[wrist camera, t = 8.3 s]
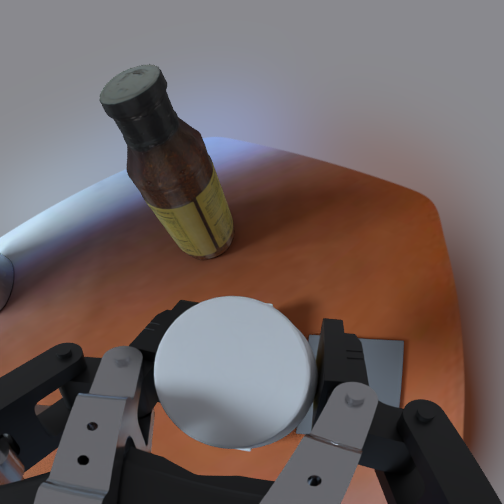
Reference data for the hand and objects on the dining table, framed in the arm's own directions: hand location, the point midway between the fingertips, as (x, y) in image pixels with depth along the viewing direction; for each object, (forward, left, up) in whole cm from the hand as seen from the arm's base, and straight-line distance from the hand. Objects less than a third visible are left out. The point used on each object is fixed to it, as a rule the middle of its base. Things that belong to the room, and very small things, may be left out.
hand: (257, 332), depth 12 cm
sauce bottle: (-9, +12, -17) cm, 23 cm away
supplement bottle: (0, -2, -4) cm, 5 cm away
